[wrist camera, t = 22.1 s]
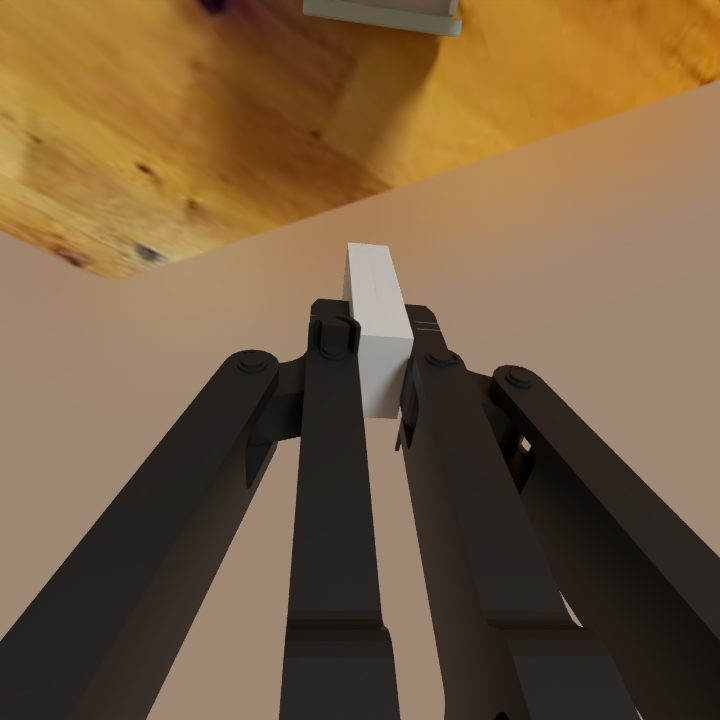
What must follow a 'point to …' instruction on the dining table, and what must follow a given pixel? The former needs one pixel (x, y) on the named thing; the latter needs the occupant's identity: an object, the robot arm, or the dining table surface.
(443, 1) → the tray
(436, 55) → the dining table surface
